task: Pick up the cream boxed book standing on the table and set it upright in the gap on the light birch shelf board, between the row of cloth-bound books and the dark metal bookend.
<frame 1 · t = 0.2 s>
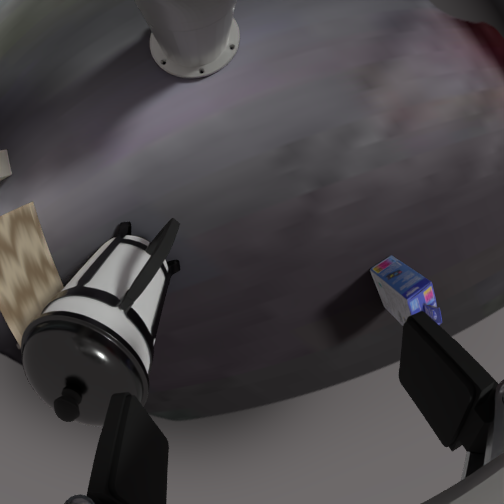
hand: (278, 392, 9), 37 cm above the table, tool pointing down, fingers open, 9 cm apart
bookshelf: (30, 270, 43), on the table
coffee press: (136, 259, 45), on the table
ink cartridge box: (388, 281, 52), on the table
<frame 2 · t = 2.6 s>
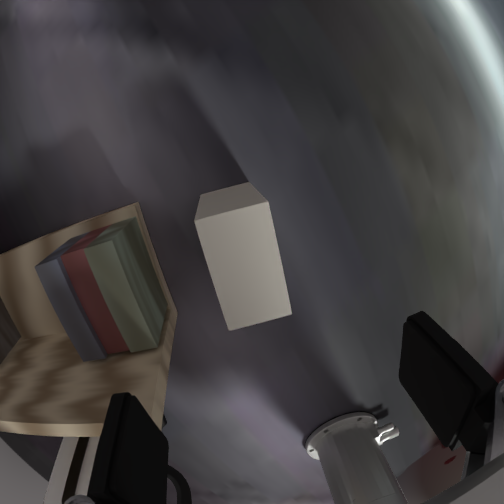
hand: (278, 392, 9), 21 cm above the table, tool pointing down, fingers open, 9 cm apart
bookshelf: (68, 286, 28), on the table
coffee press: (125, 417, 36), on the table
boxed book: (235, 229, 29), on the table
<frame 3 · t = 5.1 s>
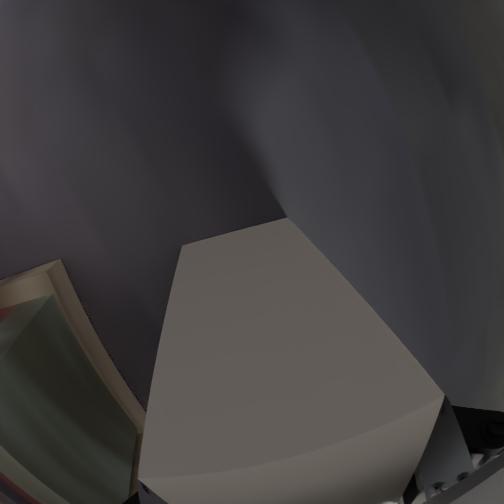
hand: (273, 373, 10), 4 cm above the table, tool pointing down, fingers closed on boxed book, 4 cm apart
boxed book: (256, 311, 14), on the table, touching gripper
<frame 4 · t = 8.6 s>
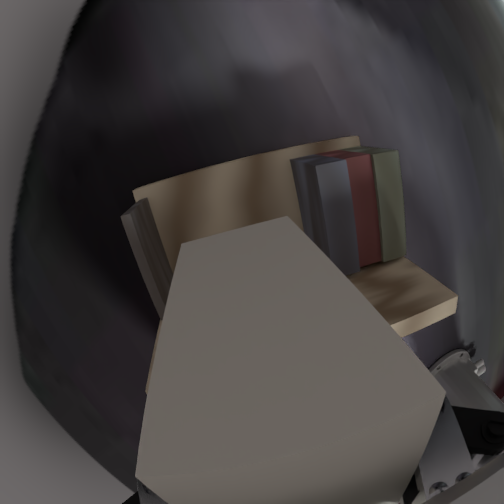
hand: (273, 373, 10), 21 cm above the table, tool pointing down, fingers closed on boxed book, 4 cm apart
bookshelf: (261, 216, 30), on the table
boxed book: (256, 310, 14), point 17 cm above the table, touching gripper
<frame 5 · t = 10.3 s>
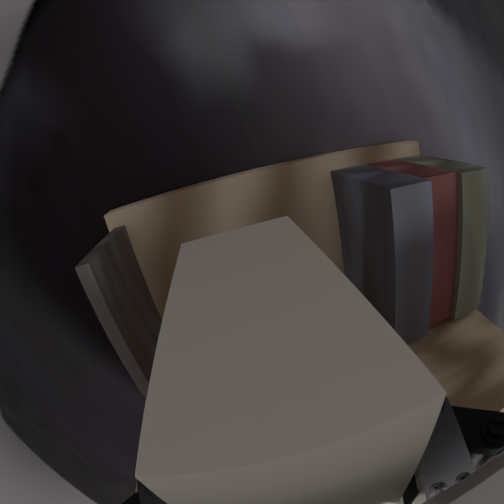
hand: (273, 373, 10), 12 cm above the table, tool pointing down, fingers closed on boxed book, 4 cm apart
bookshelf: (286, 249, 22), on the table
boxed book: (255, 310, 14), point 8 cm above the table, touching gripper
when the fingers open (7 cm above the table, at t = 12.1 s): boxed book stays where it is, resting on bookshelf.
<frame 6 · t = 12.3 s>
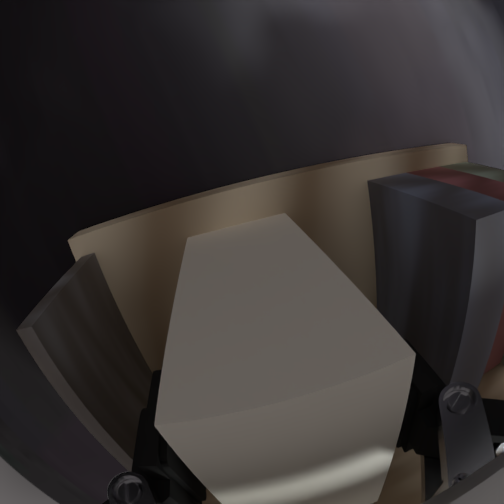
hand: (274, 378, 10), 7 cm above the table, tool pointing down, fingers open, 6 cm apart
bookshelf: (305, 279, 17), on the table
boxed book: (255, 301, 15), point 1 cm above the table, touching bookshelf
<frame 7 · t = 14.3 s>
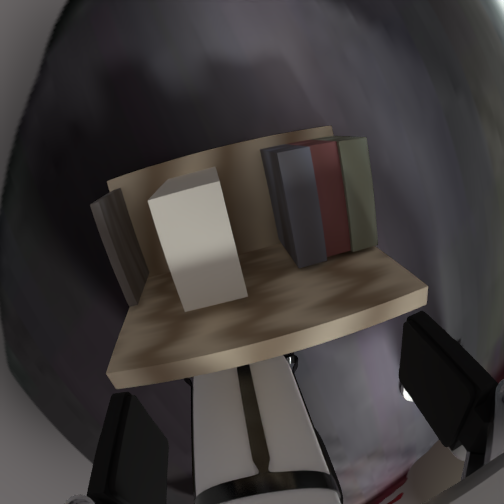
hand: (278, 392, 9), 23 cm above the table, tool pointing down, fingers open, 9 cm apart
bookshelf: (232, 206, 30), on the table
coffee press: (249, 367, 38), on the table
boxed book: (202, 213, 28), point 1 cm above the table, touching bookshelf
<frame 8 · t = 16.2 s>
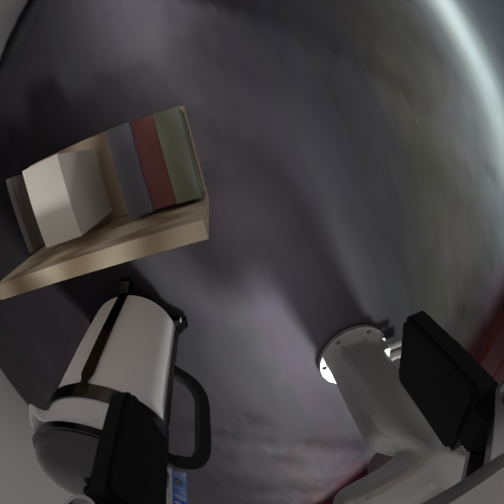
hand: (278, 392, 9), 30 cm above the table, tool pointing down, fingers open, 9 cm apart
bookshelf: (113, 179, 34), on the table
coffee press: (146, 325, 42), on the table
ink cartridge box: (165, 468, 57), on the table
boxed book: (87, 186, 33), point 1 cm above the table, touching bookshelf
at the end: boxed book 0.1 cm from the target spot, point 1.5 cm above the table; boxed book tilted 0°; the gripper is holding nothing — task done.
